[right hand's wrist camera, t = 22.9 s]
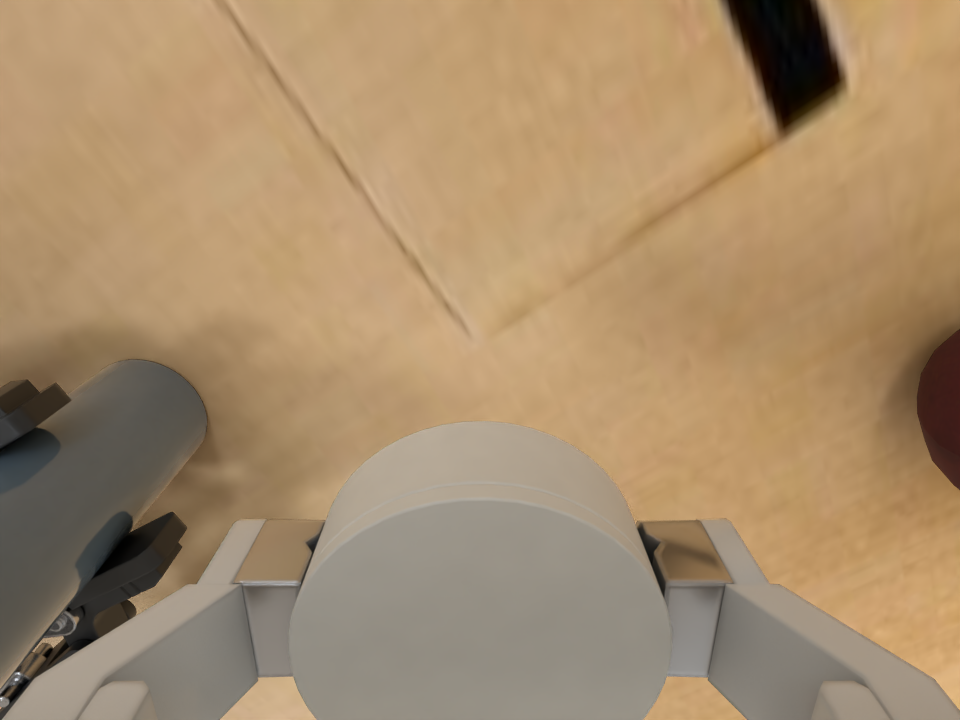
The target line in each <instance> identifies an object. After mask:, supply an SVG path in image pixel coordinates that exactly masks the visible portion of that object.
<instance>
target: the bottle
mask: <svg viewBox="0 0 960 720" xmlns="http://www.w3.org/2000/svg"><path fill="white" fill-rule="evenodd" d="M67 395H68V396H69V397H70V398H71V400H72V401H70V402H69V403H68V404H66V405H65V406H64V407H62V408H61V409H60V410H58V411H57V412H56V413H54V414H53V415H52V416H50V417H49V418H48V419H46V420H45V421H43V422H42V423H41V424H39V425H38V426H36V427H35V428H34V429H32V430H31V431H29V432H27V433H26V434H24V435H23V436H21V437H19V438H18V439H16V440H14V441H13V442H11V443H9V444H7V445H6V446H4V447H2V448H0V690H1V689H2V687H3V686H4V685H5V684H6V682H7V681H8V680H9V679H10V678H11V676H12V675H13V674H14V673H15V671H16V670H17V669H18V668H19V667H20V665H21V664H22V663H23V662H24V661H25V659H26V658H27V657H28V656H29V654H30V653H31V652H32V651H33V650H34V648H35V647H36V646H37V645H38V643H39V642H40V641H41V640H42V639H43V637H44V636H45V635H46V634H47V632H48V631H49V630H50V629H51V628H52V626H53V625H54V624H55V623H56V621H57V620H58V619H59V618H60V617H61V615H62V614H63V613H64V612H65V610H66V609H67V608H68V607H69V606H70V604H71V603H72V602H73V601H74V599H75V598H76V597H77V596H78V595H79V593H80V592H81V591H82V590H83V588H84V587H85V586H86V585H87V584H88V582H89V581H90V580H91V579H92V577H93V576H94V575H95V574H96V573H97V571H98V570H99V569H100V568H101V566H102V565H103V564H104V563H105V562H106V560H107V559H108V558H109V557H110V555H111V554H112V553H113V552H114V551H115V549H116V548H117V547H118V546H119V544H120V543H121V542H122V541H123V540H124V538H125V537H126V536H127V535H128V533H129V532H130V531H131V530H132V529H133V527H134V526H135V525H136V524H137V522H138V521H139V520H140V519H141V518H142V516H143V515H144V514H145V513H146V511H147V510H148V509H149V508H150V507H151V505H152V504H153V503H154V502H155V500H156V499H157V498H158V497H159V496H160V494H161V493H162V492H163V491H164V489H165V488H166V487H167V486H168V485H169V483H170V482H171V481H172V480H173V478H174V477H175V476H176V475H177V474H178V472H179V471H180V470H181V469H182V468H183V466H184V465H185V464H186V463H187V461H188V460H189V459H190V458H191V457H192V455H193V454H194V453H195V452H196V450H197V449H198V448H199V447H200V445H201V444H202V442H203V440H204V437H205V435H206V430H207V415H206V411H205V408H204V405H203V402H202V400H201V398H200V397H199V395H198V393H197V392H196V391H195V389H194V388H193V387H192V386H191V385H190V383H189V382H187V381H186V380H185V379H184V378H183V377H182V376H180V375H179V374H178V373H176V372H175V371H173V370H171V369H169V368H167V367H165V366H163V365H161V364H158V363H155V362H151V361H146V360H123V361H119V362H115V363H113V364H110V365H108V366H106V367H105V368H103V369H102V370H100V371H99V372H98V373H96V374H95V375H93V376H92V377H91V378H89V379H88V380H86V381H85V382H84V383H82V384H81V385H80V386H78V387H77V388H75V389H74V390H73V391H71V392H70V393H68V394H67Z"/></svg>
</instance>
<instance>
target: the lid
mask: <svg viewBox="0 0 960 720" xmlns="http://www.w3.org/2000/svg"><path fill="white" fill-rule="evenodd" d="M671 653H672V627H671V622H670V617H669V613H668V609H667V605H666V603H665V600H664V597H663V595H662V592H661V590H660V587H659V584H658V582H657V579H656V576H655V574H654V571H653V569H652V566H651V563H650V561H649V558H648V556H647V553H646V550H645V548H644V545H643V543H642V540H641V537H640V535H639V532H638V530H637V527H636V524H635V522H634V519H633V517H632V514H631V512H630V509H629V507H628V505H627V502H626V500H625V498H624V497H623V495H622V493H621V492H620V490H619V488H618V487H617V485H616V484H615V483H614V481H613V480H612V479H611V478H610V477H609V475H608V474H607V473H606V472H605V471H604V470H603V469H602V468H601V467H600V466H599V465H598V464H597V463H596V462H594V461H593V460H592V459H591V458H590V457H589V456H587V455H586V454H584V453H583V452H581V451H580V450H578V449H577V448H575V447H574V446H572V445H571V444H569V443H567V442H565V441H563V440H561V439H559V438H557V437H555V436H553V435H550V434H547V433H544V432H541V431H539V430H536V429H533V428H529V427H525V426H520V425H515V424H511V423H502V422H491V421H469V422H458V423H451V424H444V425H440V426H436V427H432V428H428V429H424V430H421V431H418V432H416V433H413V434H411V435H408V436H406V437H403V438H401V439H399V440H397V441H395V442H394V443H392V444H390V445H388V446H386V447H385V448H383V449H381V450H380V451H379V452H377V453H376V454H375V455H373V456H372V457H370V458H369V459H368V460H366V461H365V462H364V463H363V464H362V465H361V466H360V467H359V468H358V469H357V470H356V471H355V472H354V473H353V474H352V475H351V476H350V478H349V479H348V480H347V481H346V483H345V484H344V485H343V487H342V488H341V489H340V491H339V493H338V495H337V496H336V498H335V500H334V502H333V504H332V506H331V508H330V511H329V514H328V516H327V519H326V522H325V524H324V527H323V530H322V532H321V535H320V538H319V541H318V543H317V546H316V549H315V551H314V554H313V557H312V559H311V562H310V565H309V567H308V570H307V573H306V575H305V578H304V581H303V584H302V586H301V589H300V592H299V594H298V597H297V600H296V603H295V606H294V608H293V611H292V614H291V620H290V626H289V632H288V654H289V659H290V665H291V670H292V674H293V677H294V680H295V683H296V685H297V688H298V691H299V693H300V695H301V696H302V698H303V700H304V702H305V704H306V705H307V707H308V709H309V710H310V711H311V713H312V714H313V715H314V717H315V718H316V719H317V720H643V719H644V718H645V717H646V715H647V714H648V712H649V711H650V709H651V708H652V706H653V705H654V703H655V702H656V700H657V698H658V696H659V694H660V692H661V690H662V688H663V686H664V683H665V680H666V677H667V673H668V670H669V667H670V661H671Z"/></svg>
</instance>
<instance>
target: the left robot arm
mask: <svg viewBox="0 0 960 720" xmlns="http://www.w3.org/2000/svg"><path fill="white" fill-rule="evenodd" d="M70 401H72V400H71V398H70V397H69V396H68V395H67V394H66V393H65V392H64V391H63V390H62V389H61V388H60V386H59V385H58V384H57V383H54V384H53V385H51V386H49V387H47V388H46V389H44V390H42V391H41V392H39V391H38V390H37V389H36V388H35V387H34V386H33V385H32V384H31V383H30V382H29V381H28V380H21V381H12V382H9V383H8V384H6V385H4V386H3V387H1V388H0V448H2V447H4V446H6V445H7V444H9V443H11V442H13V441H14V440H16V439H18V438H19V437H21V436H23V435H24V434H26V433H27V432H29V431H31V430H32V429H34V428H35V427H36V426H38V425H39V424H41V423H42V422H43V421H45V420H46V419H48V418H49V417H50V416H52V415H53V414H54V413H56V412H57V411H58V410H60V409H61V408H62V407H64V406H65V405H66V404H68V403H69V402H70ZM186 529H187V527H186V526H185V525H184V523H183V522H182V521H181V520H180V519H179V518H178V517H177V516H176V515H175V514H174V512H170V513H168V514H166V515H164V516H162V517H160V518H158V519H156V520H154V521H152V522H150V523H148V524H146V525H144V526H142V527H140V528H138V529H136V530H134V531H132V532H130V533H128V535H127V536H126V537H125V538H124V540H123V541H122V542H121V543H120V544H119V546H118V547H117V548H116V549H115V551H114V552H113V553H112V554H111V555H110V557H109V558H108V559H107V560H106V562H105V563H104V564H103V565H102V566H101V568H100V569H99V570H98V571H97V573H96V574H95V575H94V576H93V577H92V579H91V580H90V581H89V582H88V584H87V585H86V586H85V587H84V588H83V590H82V591H81V592H80V593H79V595H78V596H77V597H76V598H75V599H74V601H73V602H72V603H71V604H70V606H69V607H68V608H67V609H66V610H65V612H64V613H63V614H62V615H61V617H60V618H59V619H58V620H57V621H56V623H55V624H54V625H53V626H52V628H51V629H50V630H49V631H48V632H47V634H46V635H45V636H44V637H43V638H49V637H58V636H63V637H64V639H63V640H62V641H61V642H60V643H58V644H57V645H56V646H55V647H54V648H53V647H52V646H51V645H50V644H48V643H42V644H40V646H39V647H38V648H37V649H36V651H35V652H31V653H30V654H29V656H28V657H27V658H26V659H25V661H24V662H23V663H22V664H21V665H20V667H19V668H18V669H17V670H16V671H15V673H14V674H13V675H12V676H11V678H10V679H9V680H8V681H7V682H6V684H5V685H4V686H3V687H2V689H1V690H0V707H2V708H1V709H0V720H2V719H3V718H4V716H5V715H6V714H7V712H8V711H9V710H10V709H11V707H12V706H13V705H14V704H15V702H16V701H17V700H18V699H19V697H20V696H21V695H22V694H23V692H24V691H25V690H26V689H27V687H28V686H29V685H30V684H31V682H32V681H33V680H34V678H36V677H37V676H39V675H41V674H42V673H44V672H45V671H47V670H49V669H50V668H52V667H54V666H55V665H57V664H58V663H60V662H62V661H63V660H65V659H67V658H68V657H70V656H71V655H73V654H75V653H76V652H78V651H80V650H81V649H83V648H84V647H86V646H88V645H89V644H91V643H93V642H94V641H96V640H97V639H99V638H101V637H102V636H104V635H106V634H107V633H109V632H110V631H112V630H114V629H115V628H117V627H119V626H120V625H122V624H123V623H125V622H127V621H128V620H130V619H132V618H133V617H135V616H136V608H135V606H134V605H133V604H132V603H131V602H130V601H128V600H127V599H129V598H131V597H133V596H135V595H137V594H140V593H141V592H144V591H146V590H148V589H150V588H152V587H154V586H155V585H156V584H157V583H158V581H159V580H160V579H161V578H162V576H163V575H164V573H165V572H166V570H167V569H168V567H169V566H170V564H171V563H172V561H173V560H174V558H175V557H176V556H177V554H178V553H179V551H180V550H181V548H182V546H181V545H180V544H179V543H178V541H179V540H180V538H181V537H182V535H183V534H184V533H185V531H186Z"/></svg>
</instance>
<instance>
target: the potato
mask: <svg viewBox="0 0 960 720" xmlns="http://www.w3.org/2000/svg"><path fill="white" fill-rule="evenodd" d="M917 414H918V417H919V421H920V425H921V428H922V432H923V435H924V439H925V442H926V445H927V447H928V450H929V453H930V455H931V458H932V461H933V462H934V463H935V464H936V465H937V466H938V468H939V469H940V470H941V471H942V472H943V473H944V474H945V476H946V477H947V478H948V479H949V480H950V481H951V482H952V484H953V485H954V486H956V487H957V488H958V489H959V490H960V330H958V331H957V332H956V333H954V334H953V335H952V336H951V337H950V338H949V339H947V340H946V341H945V342H944V343H943V344H942V345H940V346H939V347H938V348H937V349H936V350H935V351H934V353H933V354H932V356H931V358H930V360H929V361H928V363H927V365H926V366H925V368H924V370H923V371H922V373H921V377H920V383H919V388H918V394H917Z"/></svg>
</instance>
